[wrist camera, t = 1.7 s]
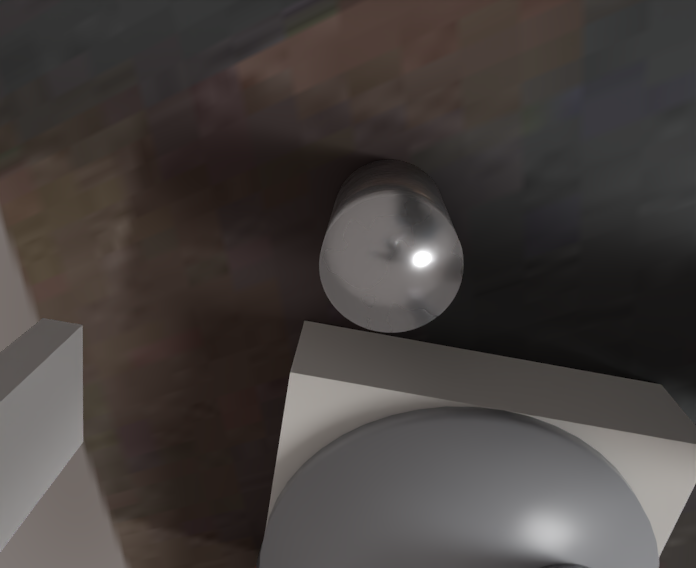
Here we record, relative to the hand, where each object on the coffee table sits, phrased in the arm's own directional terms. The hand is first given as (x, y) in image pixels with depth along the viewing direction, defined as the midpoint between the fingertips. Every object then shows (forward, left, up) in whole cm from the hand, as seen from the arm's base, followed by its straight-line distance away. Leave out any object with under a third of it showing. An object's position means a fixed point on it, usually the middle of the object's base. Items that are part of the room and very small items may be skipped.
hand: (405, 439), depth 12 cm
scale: (+16, +6, -16) cm, 24 cm away
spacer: (0, 0, -16) cm, 17 cm away
